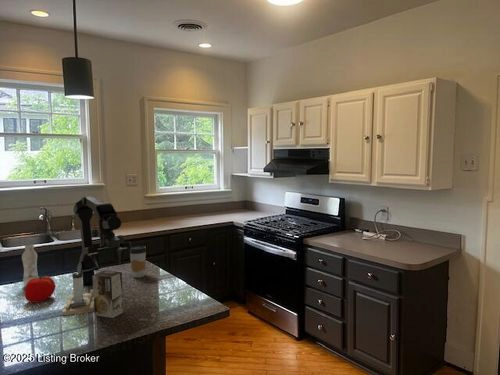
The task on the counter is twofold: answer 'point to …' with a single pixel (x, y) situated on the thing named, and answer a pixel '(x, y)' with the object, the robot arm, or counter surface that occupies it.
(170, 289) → the counter surface
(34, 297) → the tomato
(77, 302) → the fader knob
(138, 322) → the counter surface
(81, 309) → the fader track
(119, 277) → the coffee box
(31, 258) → the plastic bottle
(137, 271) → the coffee cup
